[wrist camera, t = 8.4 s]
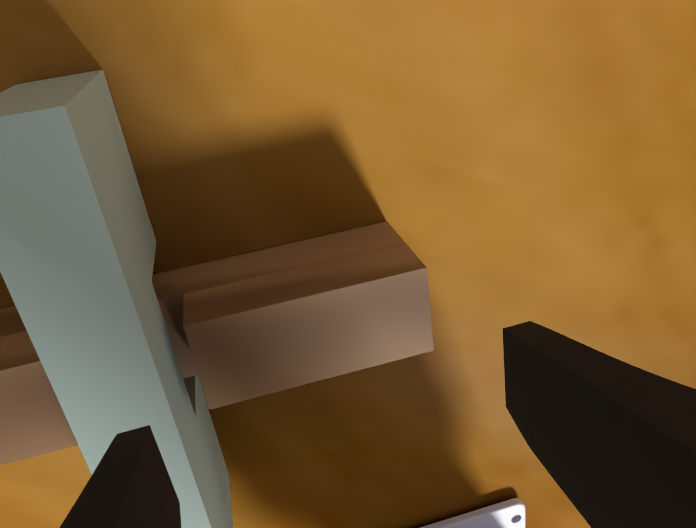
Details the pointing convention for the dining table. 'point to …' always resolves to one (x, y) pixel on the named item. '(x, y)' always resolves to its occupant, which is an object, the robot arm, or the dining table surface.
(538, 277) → the dining table surface
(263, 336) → the walnut rail
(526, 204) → the dining table surface
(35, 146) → the pale green flat block
